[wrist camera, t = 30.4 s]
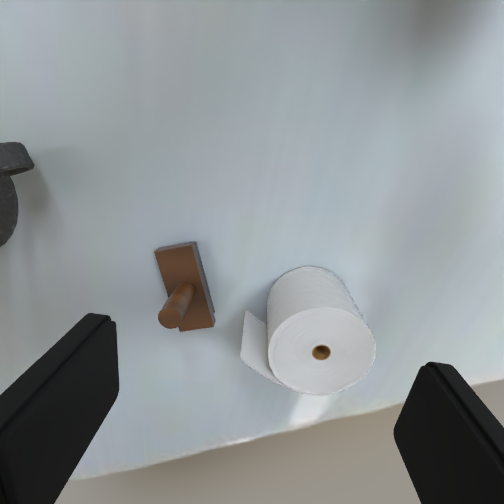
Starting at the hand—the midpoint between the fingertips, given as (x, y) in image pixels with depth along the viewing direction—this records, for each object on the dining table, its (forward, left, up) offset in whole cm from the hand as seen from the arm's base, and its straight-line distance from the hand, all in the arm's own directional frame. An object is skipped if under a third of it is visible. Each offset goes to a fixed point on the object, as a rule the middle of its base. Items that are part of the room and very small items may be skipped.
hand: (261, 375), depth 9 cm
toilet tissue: (+12, +7, -27) cm, 30 cm away
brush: (+11, -8, -27) cm, 30 cm away
